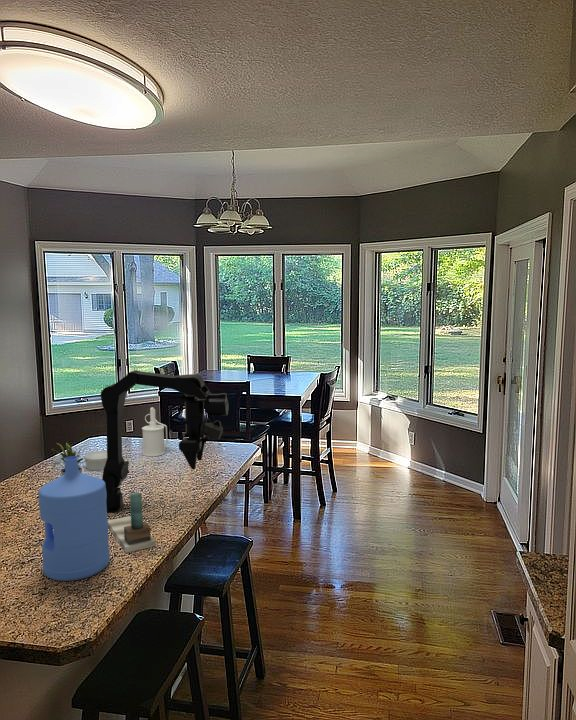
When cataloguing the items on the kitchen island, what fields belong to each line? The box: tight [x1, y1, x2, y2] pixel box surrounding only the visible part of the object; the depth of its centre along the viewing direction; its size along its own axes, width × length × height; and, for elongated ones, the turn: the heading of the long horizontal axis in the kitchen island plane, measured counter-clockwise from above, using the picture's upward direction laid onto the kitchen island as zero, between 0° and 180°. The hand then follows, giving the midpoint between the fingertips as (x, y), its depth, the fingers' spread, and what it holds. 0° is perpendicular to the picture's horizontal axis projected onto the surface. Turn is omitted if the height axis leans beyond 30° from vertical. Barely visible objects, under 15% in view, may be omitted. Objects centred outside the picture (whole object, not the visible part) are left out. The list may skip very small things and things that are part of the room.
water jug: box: [38, 455, 111, 582], centre depth 138 cm, size 16×16×28 cm
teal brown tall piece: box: [124, 492, 152, 545], centre depth 150 cm, size 4×6×12 cm, turn 121°
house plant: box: [52, 442, 91, 476], centre depth 197 cm, size 14×14×16 cm
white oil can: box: [141, 407, 168, 458], centre depth 237 cm, size 10×9×20 cm
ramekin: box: [83, 450, 107, 472], centre depth 219 cm, size 11×11×5 cm
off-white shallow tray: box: [107, 515, 157, 554], centre depth 157 cm, size 20×8×2 cm, turn 31°
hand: (196, 464), depth 174 cm, fingers open, 9 cm apart
